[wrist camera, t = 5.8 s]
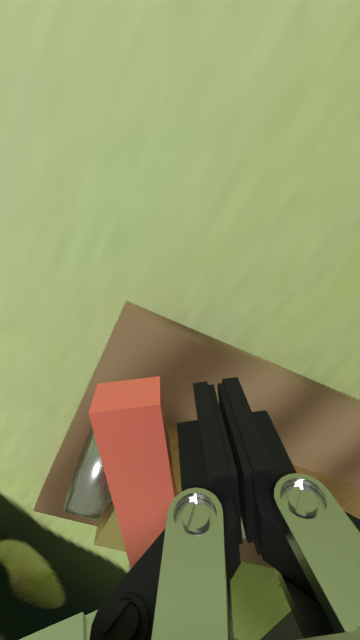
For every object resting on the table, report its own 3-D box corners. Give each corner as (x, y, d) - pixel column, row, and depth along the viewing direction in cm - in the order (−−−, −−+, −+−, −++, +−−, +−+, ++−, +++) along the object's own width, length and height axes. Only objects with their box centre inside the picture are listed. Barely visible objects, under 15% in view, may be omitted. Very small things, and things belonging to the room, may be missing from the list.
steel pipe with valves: (373, 491, 20) (422, 561, 16) (331, 533, 21) (367, 606, 17) (105, 400, 16) (89, 466, 12) (76, 460, 17) (54, 535, 13)
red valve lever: (189, 546, 14) (194, 594, 12) (136, 553, 14) (133, 603, 12) (165, 371, 10) (167, 407, 8) (92, 380, 10) (79, 418, 8)
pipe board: (418, 425, 20) (437, 443, 18) (294, 553, 24) (303, 575, 23) (126, 301, 15) (122, 312, 14) (41, 488, 20) (33, 510, 18)
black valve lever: (336, 558, 15) (358, 604, 13) (373, 568, 15) (399, 613, 14) (239, 650, 18) (248, 697, 16) (273, 655, 18) (285, 701, 17)
